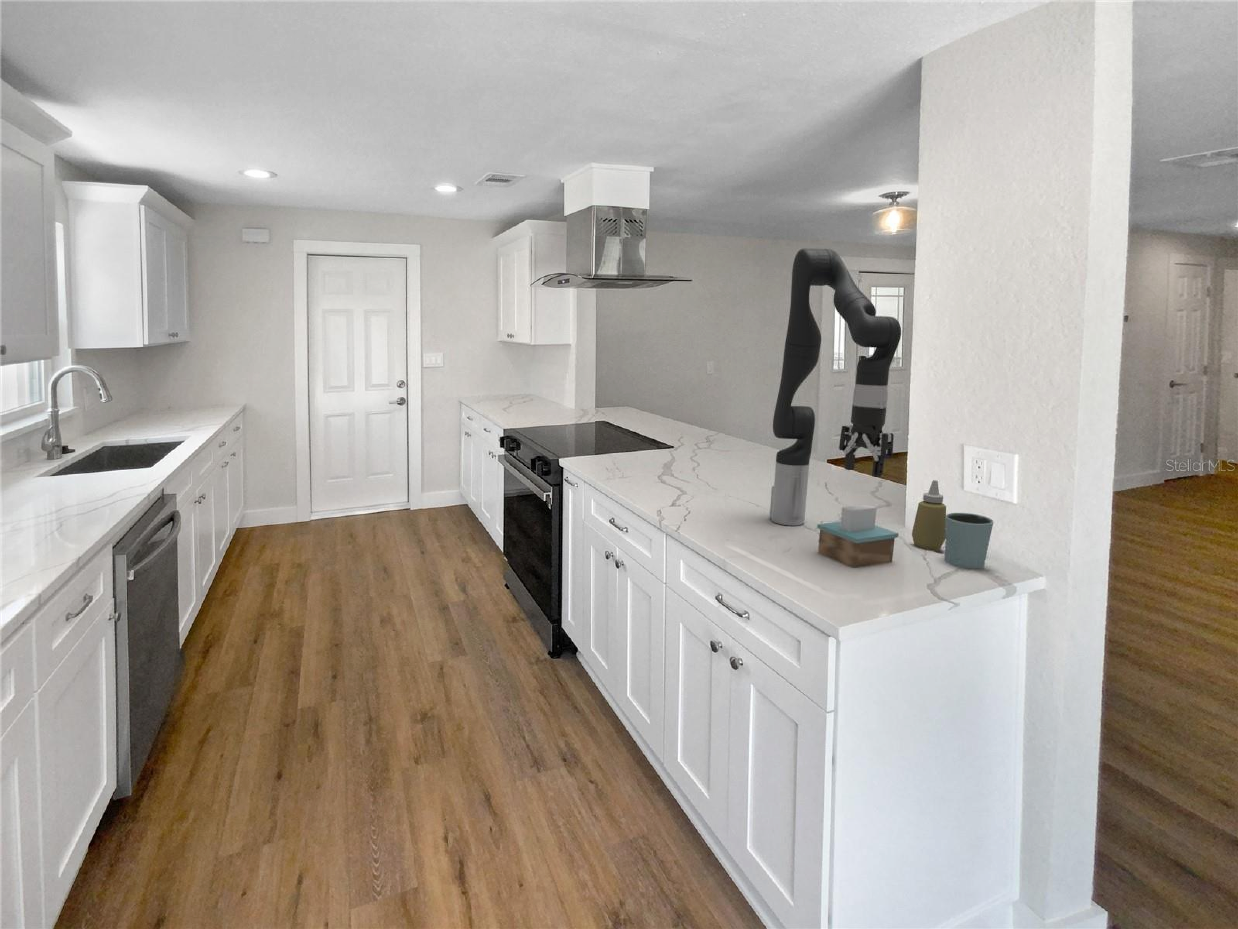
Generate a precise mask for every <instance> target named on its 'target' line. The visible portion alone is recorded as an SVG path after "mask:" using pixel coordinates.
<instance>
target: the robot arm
mask: <svg viewBox="0 0 1238 929" xmlns="http://www.w3.org/2000/svg"><path fill="white" fill-rule="evenodd" d="M792 264H793V265H792V271H791V286H790V289H791V290H790V293H791V294H790V306H789V307H790V308H789V318H788V323H787V324H788V325H787V330H786V337H785V342H784V352H783V359H782V368H781V379H780V383H779V388H778V389H779V390H778V394H777V399H776V403H775V409H774V412H773V413H774V414H773V418H772V419H773V420H772V431H773V432H772V433H773V435H774V437H775V438H777V439H784V440H795V442H794V443H793V444H792V445H790V446H789V447H787V448H784V449H781V450H778V451H777V452H776V456H775V468H774V480H773V481H774V482H773V485H772V487H771V493H770V494H771V495H770V507H769V519H771V521H772V522H773V523H775V524H778V525H782V526H802V525H804V524H805V521H806V520H805V518H806V509H807V507H806V506H807V496H808V483H809V470H810V460H811V455H812V450H813V449H812V448H813V440H814V432H815V425H816V415H815V411H814V409H813V408H812V407H811V406H808V405H807V406H806V405H804V406H803V405H792V403H793V399H794V397H795V395H796V393H797V391H798V389H799V387H800V386H801V385H802V384H803V382H804V381H805V380H806V379H807V378H808V377H809V375H810V374H811V373H812V372H813V370H814V369H815V367H816V366H817V364H818V362H819V358H820V352H821V351H820V349H821V346H822V334H821V330H820V328H819V326H818V323H817V321H816V319H815V317H814V314H813V312H812V309H811V304H810V290H811V286H813V287H814V286H815V287H825V286H827V287H829V288H832V290H834V294H833V305H834V308H835V311H836V312H837V313H838V314H839V315H840V317H841V318H842V319H843V320H844V322H846V324H847V327H848V329H849V330H848V331H849V333H850V336H851V339H852V341H853V343H855V344H857V346H859V347H863V348H875V349H874V352H873V353H872V355H871V356H869V357H865V358H861V359H860V360H859V361H858V362H857V365H856V375H855V385H854V389H853V393H852V394H853V396H852V404H851V405H852V406H851V415H850V422H851V424H852V425H842V426H841V429H840V430H841V432H840V436H839V437H840V438H839V446H838V450H840V451H843V453H844V454H845V455H844V470H846V471H853V470H854V469H855V462H856V454H855V453H856V452H857V451H858V450H859V449H860V448H863V449H867V450H868V451H869V453H870V454H872V457H873V461H872V462H873V463H872V473H871V477H874V478H880V477H881V476H882V475H883V473H884V465H885V461H887V460H888V461H889V460H892V459H893V456H894V455H893V454H894V437H895V436H894V433H893V432H885V433H884V432H883V427H884V426H885V424H886V417H887V415H886V414H887V406H888V394H889V392H888V390H889V389H888V387H889V386H888V384H889V378H890V376H889V375H890V368H891V365H892V362H893V359H894V357H895V354H896V352H897V349H898V347H899V344H900V340H901V337H902V327H901V323H900V322H899V321H898V319H897V318H895V317H894V316H886V315H883V316H882V315H876V314H877V309H876V307H875V305H874V303H873V302H872V301H871V300H870V299H869V298H868V297H867V296H866V295H865V294H864V293H863V292H862V291H861V289H859V287H858V286H857V285H856V283H855V281H854V279H853V278H852V275H851V274H850V272H849V270H848V269H847V266H846V265H845V263H844V262H843V260H842V258H841V257H840V255H839V254H838V253H837V252H836V251H835V250H833V249H830V248H800V249H799V250H798V251H797V253H796V255H795V256H794V260H793V263H792Z"/></svg>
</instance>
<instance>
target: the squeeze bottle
mask: <svg viewBox="0 0 1238 929" xmlns="http://www.w3.org/2000/svg"><path fill="white" fill-rule="evenodd" d="M939 490H940V489H939V482H938V480H936V479H935V480H934V479H933V480H932V481H931V484H930V487H929V490H928V492H925V493H923V497H922V501H920V502H918V503H917V504H918V505H917V508H916V513H915V517H914V521H913V522H914V523H913V527H912V532H911V536H912V540H913V545H914V546H915V547H916V548H917V547H918V548H921V549H924V550H928V551H932V552H934V553H937V552H940V551H941V548H942V547H943V545H944V542H945V541H946V539H945V537H946V536H945V533H946V515H947V506H946V505H945V504H944V503H943V502H944V495H943V494H940V491H939Z"/></svg>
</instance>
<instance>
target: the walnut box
mask: <svg viewBox="0 0 1238 929" xmlns="http://www.w3.org/2000/svg"><path fill="white" fill-rule="evenodd" d="M818 539H819V540H818V549H817V552H818V554H820V555H823V556H824V557H827V558H830V559H833V560H834V561H835V560H836V561H837V562H838V563H843V564H844V565H847V566H849V567H851V568H854V569H855V568H862V567H868V566H869V567H870V566H873V565H879V564H885V563H892V562H893V558H894V547H895V540H896V538H891V539H884V540H877V541H870V542H863V543H855V542H852V541H849V540H847V539H844V538H841V537H839V536H836V535H834V534H831V533H828V532H826V531H823V530H820V529H819V538H818Z"/></svg>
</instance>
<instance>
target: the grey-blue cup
mask: <svg viewBox="0 0 1238 929" xmlns="http://www.w3.org/2000/svg"><path fill="white" fill-rule="evenodd" d="M994 522H995V521H994V520H993V519H992V518H990V517H987V516H984V515H982V514H981V515H980V514H976V513H970V512H969V513H968V512H951V513H950V512H949V513H946V533H945V536H946V537H945V541H944V542H945V544H944V562H946V563H947V564H949V565H951V566H955V567H959V568H965V569H982V570H984V569H985V564H986V562H985V561H986V558H987V555H988V554H987V553H988V549H989V548H988V547H989V545H990V544H989V543H990V539H991V535H992V530H993V525H994Z"/></svg>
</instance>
